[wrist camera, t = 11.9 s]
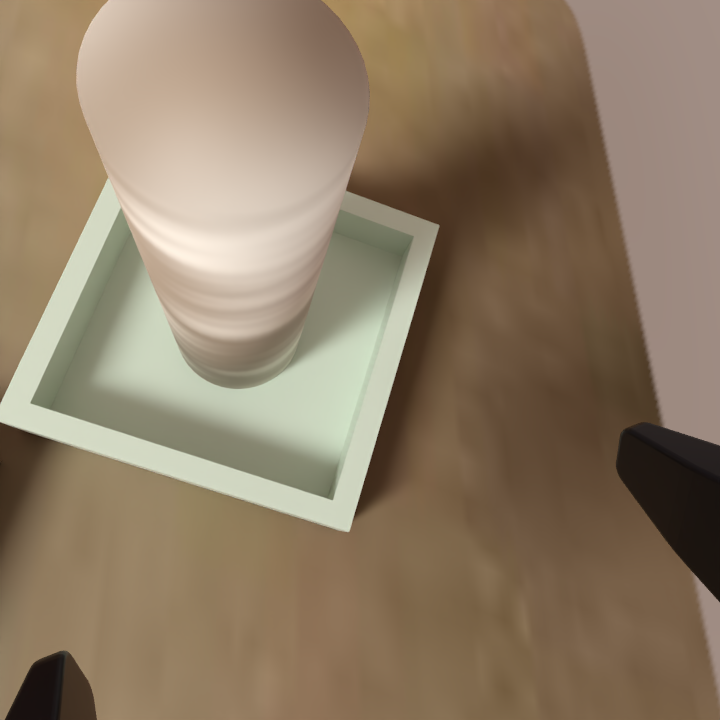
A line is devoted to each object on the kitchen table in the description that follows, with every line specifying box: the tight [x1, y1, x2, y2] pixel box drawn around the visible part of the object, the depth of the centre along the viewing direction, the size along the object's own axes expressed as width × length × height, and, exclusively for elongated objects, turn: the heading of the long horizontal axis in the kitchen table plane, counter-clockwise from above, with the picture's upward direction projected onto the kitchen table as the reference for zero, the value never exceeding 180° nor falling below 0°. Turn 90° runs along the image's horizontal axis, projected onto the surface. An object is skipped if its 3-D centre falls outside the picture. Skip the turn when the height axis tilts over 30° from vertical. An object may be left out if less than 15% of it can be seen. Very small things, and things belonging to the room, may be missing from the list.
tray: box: [0, 178, 440, 532], centre depth 23 cm, size 12×12×2 cm
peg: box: [77, 0, 370, 389], centre depth 17 cm, size 4×4×14 cm
